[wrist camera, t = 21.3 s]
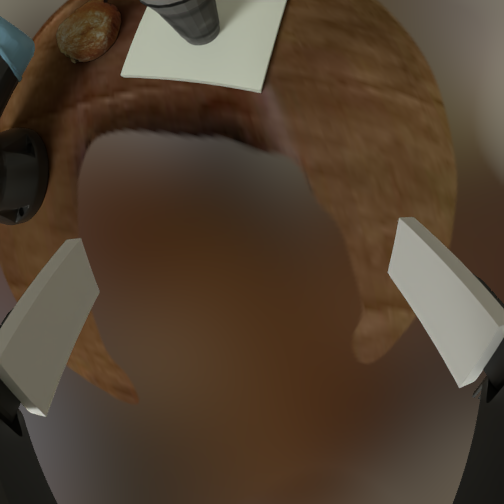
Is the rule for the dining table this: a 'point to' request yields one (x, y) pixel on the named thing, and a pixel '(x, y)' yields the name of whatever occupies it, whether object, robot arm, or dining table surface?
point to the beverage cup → (189, 18)
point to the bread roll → (89, 31)
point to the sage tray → (210, 47)
